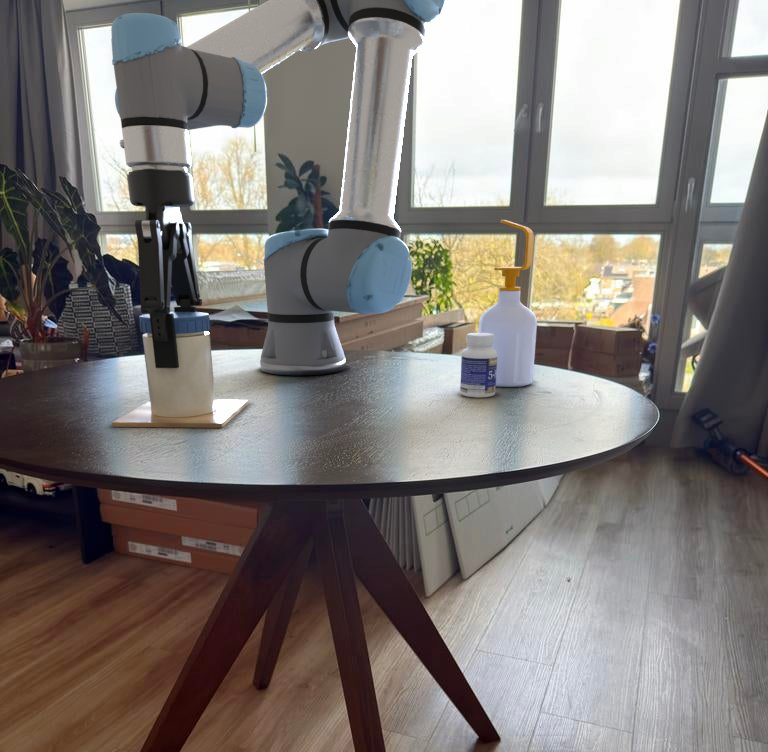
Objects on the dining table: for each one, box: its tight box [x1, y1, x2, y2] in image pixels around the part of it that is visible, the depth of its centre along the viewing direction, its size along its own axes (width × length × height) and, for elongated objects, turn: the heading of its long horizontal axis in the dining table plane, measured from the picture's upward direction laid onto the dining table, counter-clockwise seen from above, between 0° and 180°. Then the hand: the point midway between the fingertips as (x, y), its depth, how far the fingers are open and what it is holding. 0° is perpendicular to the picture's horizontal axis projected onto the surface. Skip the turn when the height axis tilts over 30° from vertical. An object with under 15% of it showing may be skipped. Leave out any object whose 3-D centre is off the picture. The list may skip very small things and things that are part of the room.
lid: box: [138, 311, 211, 334], centre depth 92 cm, size 9×9×2 cm
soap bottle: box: [478, 219, 538, 388], centre depth 113 cm, size 9×9×25 cm
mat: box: [111, 399, 249, 429], centre depth 97 cm, size 14×14×1 cm
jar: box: [141, 331, 217, 417], centre depth 94 cm, size 8×8×12 cm
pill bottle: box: [459, 332, 497, 398], centre depth 107 cm, size 5×5×9 cm
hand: (179, 361), depth 94 cm, fingers closed on lid, 8 cm apart
